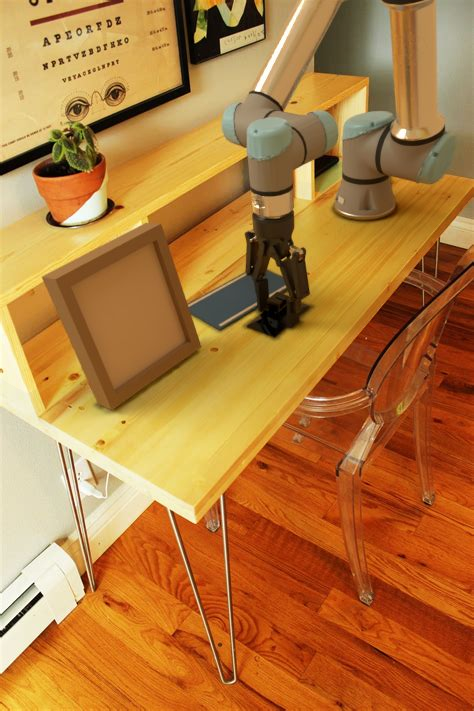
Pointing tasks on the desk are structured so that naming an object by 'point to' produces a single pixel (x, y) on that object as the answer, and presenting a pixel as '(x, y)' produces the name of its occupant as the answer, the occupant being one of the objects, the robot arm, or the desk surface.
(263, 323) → the build plate
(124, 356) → the photo frame
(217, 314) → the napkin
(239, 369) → the desk surface
